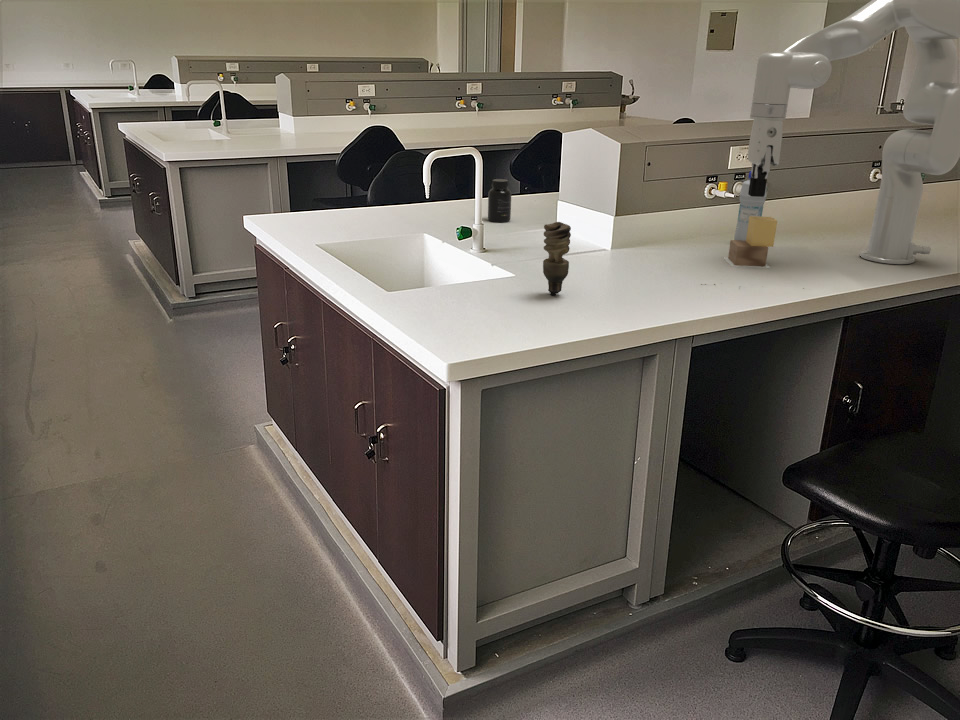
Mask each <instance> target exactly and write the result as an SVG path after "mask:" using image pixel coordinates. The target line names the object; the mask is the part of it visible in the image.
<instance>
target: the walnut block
mask: <svg viewBox="0 0 960 720" xmlns="http://www.w3.org/2000/svg"><path fill="white" fill-rule="evenodd" d="M768 253H769V247H766V246H751V245H750V244H748V243H747V242H746V241H744V240H734V239H730V243H729V249H728V259H729V260H730V261H731V262H732V263H733V264H734V265H738V266H763V267H765V266H766V264H767V259H768Z"/></svg>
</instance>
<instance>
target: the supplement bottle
mask: <svg viewBox="0 0 960 720" xmlns="http://www.w3.org/2000/svg"><path fill="white" fill-rule="evenodd" d="M491 187H492V188H491V189H490V190H489V191H488V196H487V197H488V199H487V200H488V201H487V220H488V221H489V222H491V223H497V224H503V223H509V222H510V221H511V216H512V213H511V212H512V192H511V191H512V190H510V189H509V180H508V179H504V178H503V179H502V178H496V179H492V180H491Z"/></svg>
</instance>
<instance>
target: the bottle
mask: <svg viewBox="0 0 960 720" xmlns="http://www.w3.org/2000/svg"><path fill="white" fill-rule="evenodd" d="M750 178H753V177H751V170H750V171H749V173H748V179H747V180H745V181H743V182H742V185H741V187H740V188H741V189H740V192H739V199H738V200H739V206H738V207H739V208H738V216H737V222H736V228H735V232H734V239H733V240H744V241H746V237H747V230H748V223H749V216H758V217H763V212H764V206H765V205H764V203H766V198H767V196H768V193H767V191H768V190H767V185H768V184H767V183H766V190H765V196H764V197H753V196H750V195H749V194H748V192H749V185H750Z"/></svg>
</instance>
